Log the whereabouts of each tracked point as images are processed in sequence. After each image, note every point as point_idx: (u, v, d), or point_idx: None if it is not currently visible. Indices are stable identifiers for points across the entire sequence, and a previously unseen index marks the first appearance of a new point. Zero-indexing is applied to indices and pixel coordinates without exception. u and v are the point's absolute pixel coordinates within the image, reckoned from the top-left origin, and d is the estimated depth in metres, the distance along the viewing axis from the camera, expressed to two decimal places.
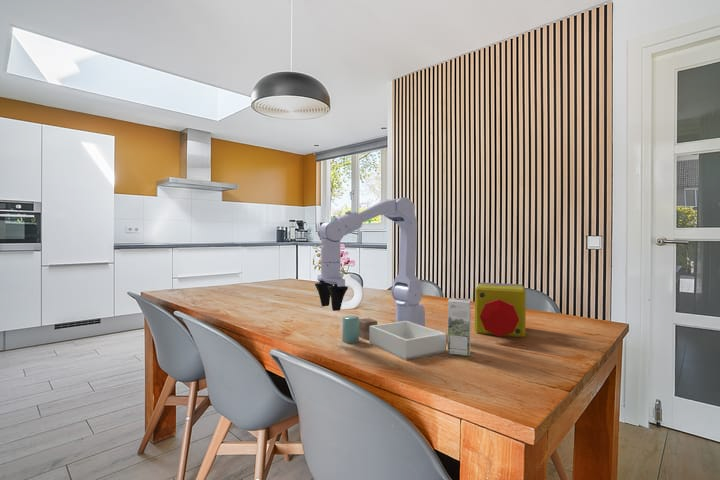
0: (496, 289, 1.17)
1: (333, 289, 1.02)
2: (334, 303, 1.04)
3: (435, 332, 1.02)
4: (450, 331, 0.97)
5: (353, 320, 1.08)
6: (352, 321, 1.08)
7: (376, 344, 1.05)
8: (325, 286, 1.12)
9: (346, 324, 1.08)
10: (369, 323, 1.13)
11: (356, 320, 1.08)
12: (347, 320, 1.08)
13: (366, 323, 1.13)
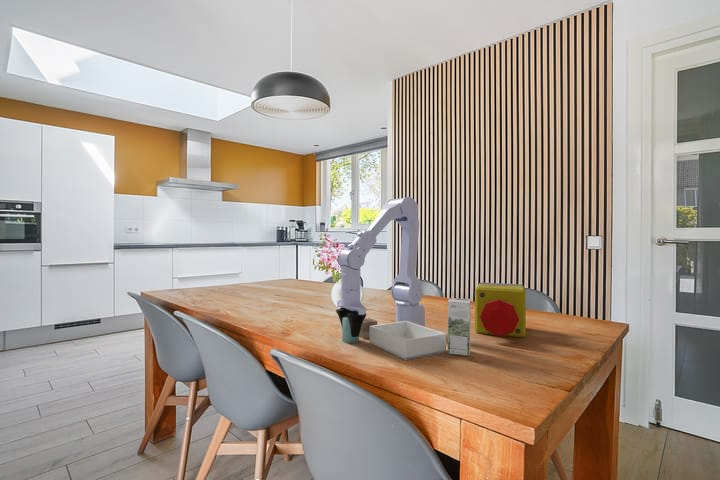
0: (496, 289, 1.17)
1: (352, 316, 1.05)
2: (353, 330, 1.07)
3: (435, 332, 1.02)
4: (450, 331, 0.97)
5: None
6: None
7: (376, 344, 1.05)
8: (346, 312, 1.12)
9: (346, 324, 1.08)
10: (369, 323, 1.13)
11: None
12: (347, 320, 1.08)
13: (366, 323, 1.13)
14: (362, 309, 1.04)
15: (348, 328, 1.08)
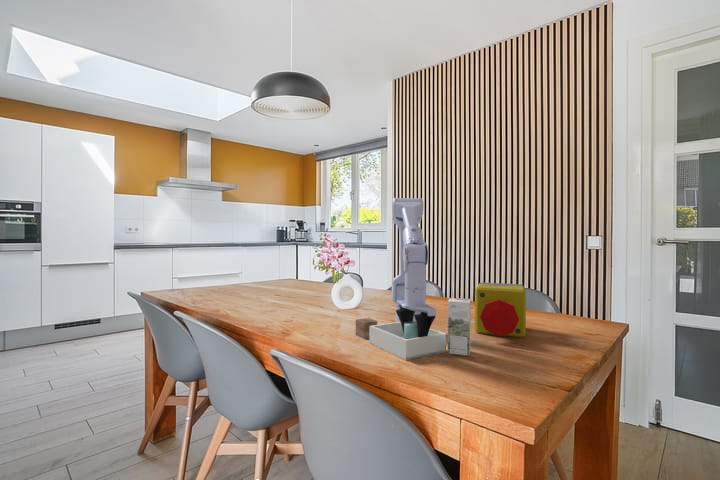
0: (496, 289, 1.17)
1: (422, 318, 0.94)
2: (421, 333, 0.96)
3: (435, 332, 1.02)
4: (450, 331, 0.97)
5: (416, 327, 0.97)
6: (415, 328, 0.97)
7: (376, 344, 1.05)
8: (407, 313, 1.03)
9: (408, 331, 0.98)
10: (369, 323, 1.13)
11: None
12: (409, 326, 0.98)
13: (366, 323, 1.13)
14: (432, 310, 0.94)
15: (410, 335, 0.98)
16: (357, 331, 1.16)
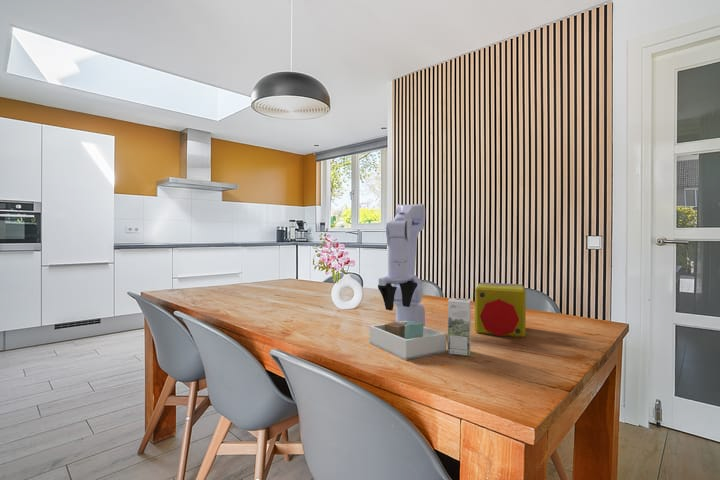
0: (496, 289, 1.17)
1: (378, 287, 1.04)
2: (385, 302, 1.05)
3: (435, 332, 1.02)
4: (450, 331, 0.97)
5: (418, 327, 0.97)
6: (417, 328, 0.97)
7: (376, 344, 1.05)
8: (406, 286, 1.10)
9: (410, 331, 0.98)
10: (402, 327, 1.05)
11: (421, 327, 0.98)
12: (412, 326, 0.97)
13: (400, 327, 1.05)
14: (380, 280, 1.02)
15: (412, 335, 0.97)
16: None
